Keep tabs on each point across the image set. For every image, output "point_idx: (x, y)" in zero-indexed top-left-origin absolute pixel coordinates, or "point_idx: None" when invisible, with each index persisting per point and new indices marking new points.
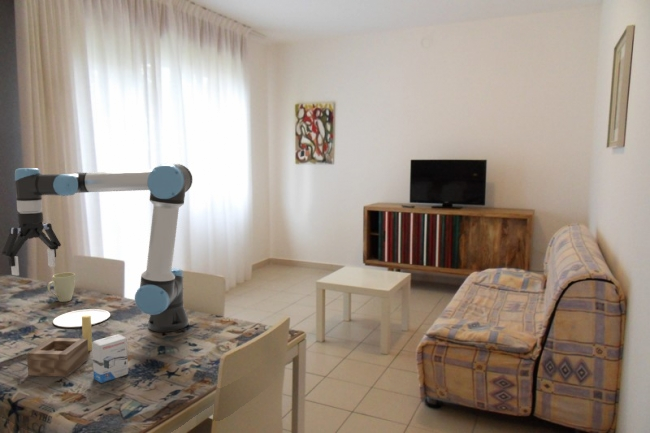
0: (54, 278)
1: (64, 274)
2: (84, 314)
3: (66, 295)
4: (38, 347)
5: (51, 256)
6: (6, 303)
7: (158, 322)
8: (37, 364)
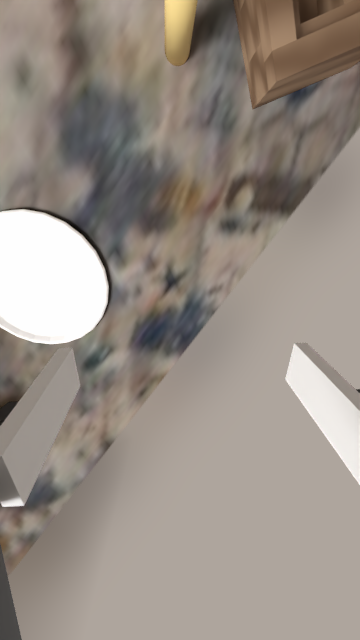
0: None
1: None
2: (18, 306)
3: None
4: (356, 36)
5: (43, 410)
6: (84, 476)
7: None
8: None
